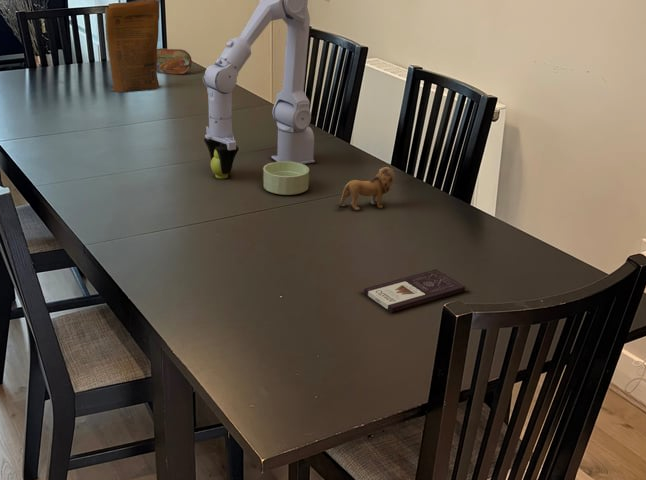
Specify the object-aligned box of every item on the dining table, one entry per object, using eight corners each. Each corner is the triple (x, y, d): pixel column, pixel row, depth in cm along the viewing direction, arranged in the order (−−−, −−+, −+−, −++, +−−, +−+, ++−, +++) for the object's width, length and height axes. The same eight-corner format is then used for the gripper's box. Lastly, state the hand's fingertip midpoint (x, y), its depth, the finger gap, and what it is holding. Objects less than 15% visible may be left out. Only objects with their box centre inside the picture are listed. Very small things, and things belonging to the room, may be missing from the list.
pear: (227, 171, 217) (226, 137, 212) (236, 178, 213) (235, 143, 208) (207, 174, 215) (206, 139, 210) (215, 181, 210) (215, 146, 205)
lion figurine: (385, 198, 204) (388, 163, 199) (396, 206, 200) (399, 170, 195) (332, 206, 199) (334, 170, 194) (342, 214, 195) (345, 177, 190)
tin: (150, 72, 302) (149, 48, 297) (153, 70, 304) (151, 46, 300) (190, 75, 300) (189, 50, 295) (193, 73, 303) (192, 49, 298)
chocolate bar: (465, 287, 163) (392, 308, 155) (464, 291, 164) (391, 312, 155) (435, 269, 169) (364, 288, 161) (435, 273, 170) (363, 292, 162)
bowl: (295, 177, 215) (296, 159, 212) (316, 192, 206) (317, 173, 204) (255, 183, 210) (255, 164, 207) (275, 199, 202) (275, 179, 199)
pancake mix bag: (167, 89, 283) (162, 0, 267) (113, 94, 275) (104, 3, 260) (161, 84, 288) (155, -3, 272) (107, 89, 280) (98, -1, 265)
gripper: (194, 110, 209) (196, 162, 216) (216, 126, 198) (218, 180, 206) (220, 107, 212) (221, 159, 219) (243, 122, 201) (244, 177, 209)
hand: (221, 169), depth 213 cm, fingers closed on pear, 5 cm apart
